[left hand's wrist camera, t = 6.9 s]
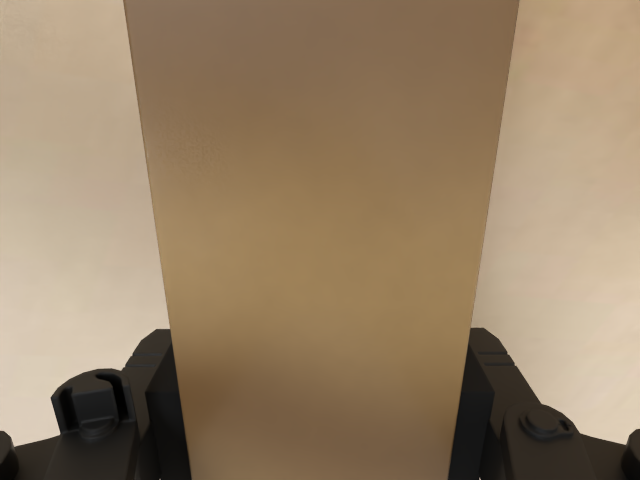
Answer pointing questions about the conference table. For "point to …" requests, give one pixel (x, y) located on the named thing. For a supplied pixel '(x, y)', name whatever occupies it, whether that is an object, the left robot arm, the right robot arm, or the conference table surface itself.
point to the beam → (320, 222)
